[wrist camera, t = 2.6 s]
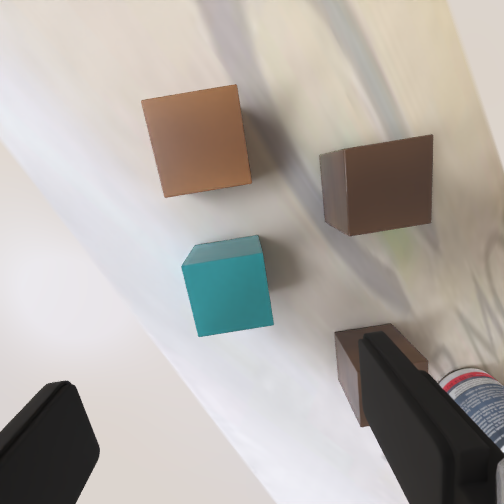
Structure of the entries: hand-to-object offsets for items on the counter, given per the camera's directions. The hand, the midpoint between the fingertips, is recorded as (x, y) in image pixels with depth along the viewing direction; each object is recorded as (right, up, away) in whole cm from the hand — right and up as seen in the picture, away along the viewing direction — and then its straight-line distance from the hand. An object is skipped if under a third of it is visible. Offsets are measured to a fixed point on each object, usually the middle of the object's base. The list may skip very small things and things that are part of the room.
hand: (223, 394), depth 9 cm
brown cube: (+10, -3, +13) cm, 16 cm away
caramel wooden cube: (-2, +11, +8) cm, 14 cm away
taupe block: (+8, +9, +9) cm, 15 cm away
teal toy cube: (0, +3, +10) cm, 11 cm away
